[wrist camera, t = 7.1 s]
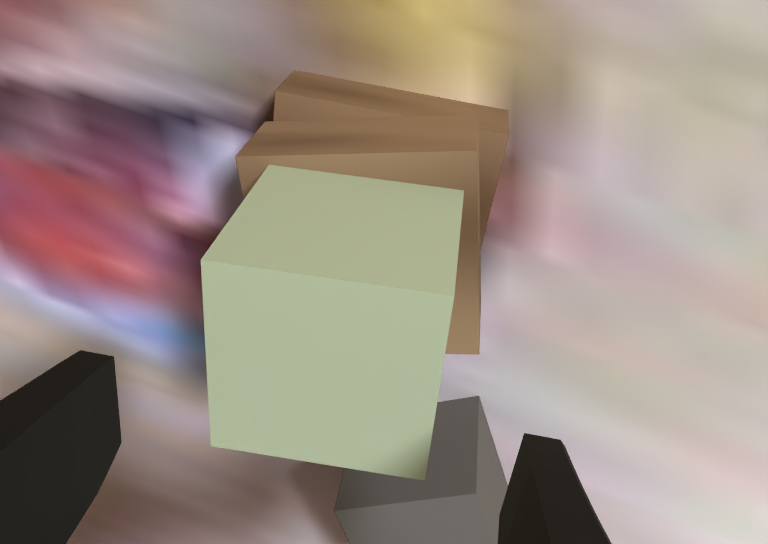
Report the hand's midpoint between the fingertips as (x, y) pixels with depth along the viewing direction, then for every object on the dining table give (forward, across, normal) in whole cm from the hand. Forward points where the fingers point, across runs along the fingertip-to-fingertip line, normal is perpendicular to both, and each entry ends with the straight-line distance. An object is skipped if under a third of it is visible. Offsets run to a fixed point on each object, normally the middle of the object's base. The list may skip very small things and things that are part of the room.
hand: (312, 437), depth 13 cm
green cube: (+6, 0, 0) cm, 6 cm away
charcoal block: (+10, -3, +10) cm, 15 cm away
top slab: (+8, 0, 0) cm, 8 cm away
